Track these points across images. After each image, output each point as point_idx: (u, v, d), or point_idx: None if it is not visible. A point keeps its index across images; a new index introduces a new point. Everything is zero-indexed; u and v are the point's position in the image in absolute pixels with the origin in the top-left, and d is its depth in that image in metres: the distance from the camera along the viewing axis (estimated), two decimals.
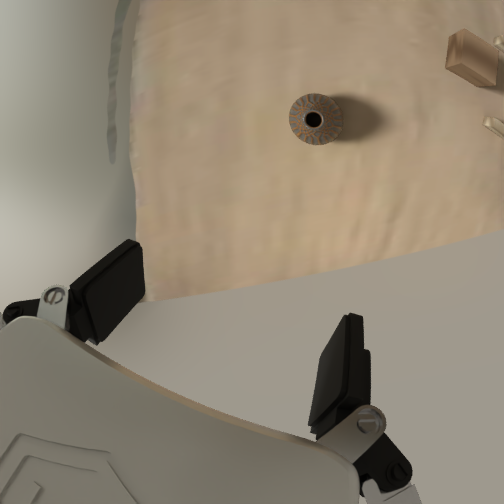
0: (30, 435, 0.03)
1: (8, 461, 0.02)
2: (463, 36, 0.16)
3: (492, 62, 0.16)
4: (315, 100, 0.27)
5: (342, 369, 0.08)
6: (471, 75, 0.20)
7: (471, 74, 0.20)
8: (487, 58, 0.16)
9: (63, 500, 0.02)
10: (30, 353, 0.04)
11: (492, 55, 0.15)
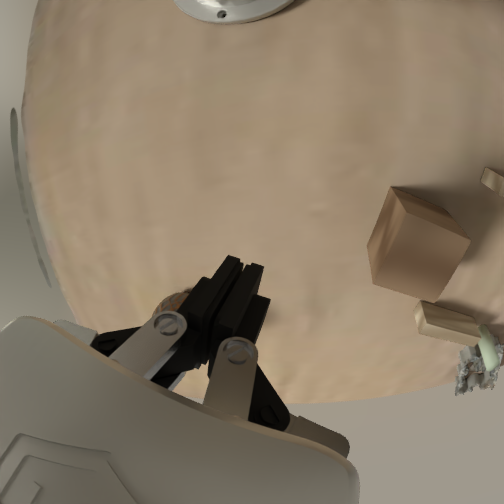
0: (30, 435, 0.03)
1: (8, 461, 0.02)
2: (398, 228, 0.16)
3: (445, 267, 0.16)
4: None
5: (224, 303, 0.09)
6: None
7: None
8: (437, 263, 0.16)
9: (63, 500, 0.02)
10: (30, 353, 0.04)
11: (452, 254, 0.15)
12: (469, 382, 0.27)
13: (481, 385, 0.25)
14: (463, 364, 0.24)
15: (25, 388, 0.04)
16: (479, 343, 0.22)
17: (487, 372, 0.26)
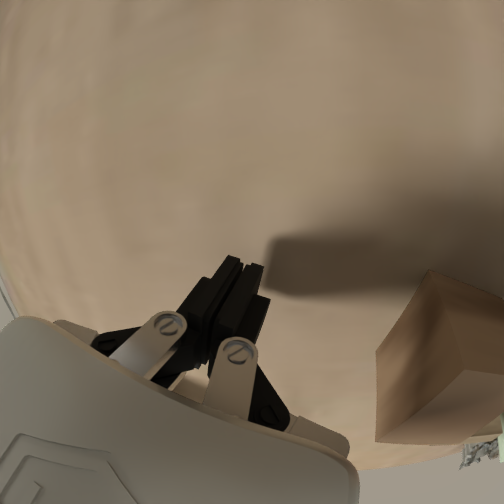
0: (30, 435, 0.03)
1: (8, 461, 0.02)
2: (439, 387, 0.07)
3: (491, 414, 0.06)
4: None
5: (224, 303, 0.09)
6: None
7: None
8: (481, 414, 0.07)
9: (63, 500, 0.02)
10: (30, 353, 0.04)
11: None
12: (477, 453, 0.17)
13: (490, 454, 0.15)
14: (471, 449, 0.15)
15: (25, 388, 0.04)
16: None
17: None
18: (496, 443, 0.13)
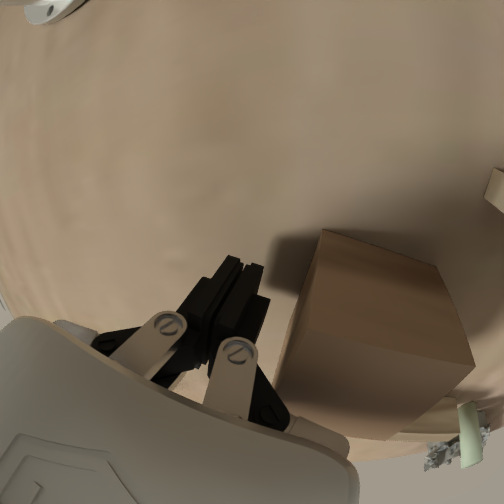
0: (30, 435, 0.03)
1: (8, 461, 0.02)
2: (294, 352, 0.07)
3: (410, 407, 0.07)
4: None
5: (224, 303, 0.09)
6: None
7: None
8: (390, 405, 0.07)
9: (63, 500, 0.02)
10: (30, 353, 0.04)
11: (427, 390, 0.07)
12: (447, 454, 0.18)
13: None
14: (429, 450, 0.16)
15: (25, 388, 0.04)
16: (460, 429, 0.13)
17: None
18: None
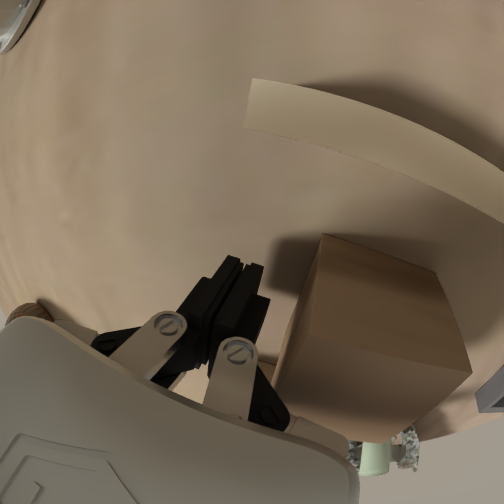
0: (30, 435, 0.03)
1: (8, 461, 0.02)
2: (293, 357, 0.07)
3: (407, 412, 0.07)
4: None
5: (224, 303, 0.09)
6: None
7: None
8: (387, 409, 0.07)
9: (63, 500, 0.02)
10: (30, 353, 0.04)
11: (423, 395, 0.07)
12: None
13: (400, 462, 0.18)
14: None
15: (25, 388, 0.04)
16: None
17: None
18: None
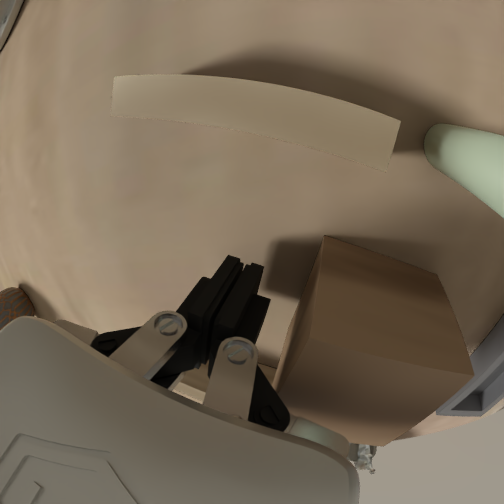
0: (30, 435, 0.03)
1: (8, 461, 0.02)
2: (295, 360, 0.07)
3: (408, 415, 0.07)
4: None
5: (224, 303, 0.09)
6: None
7: None
8: (389, 412, 0.07)
9: (63, 500, 0.02)
10: (30, 353, 0.04)
11: (425, 398, 0.07)
12: None
13: (358, 462, 0.19)
14: None
15: (25, 388, 0.04)
16: None
17: None
18: None
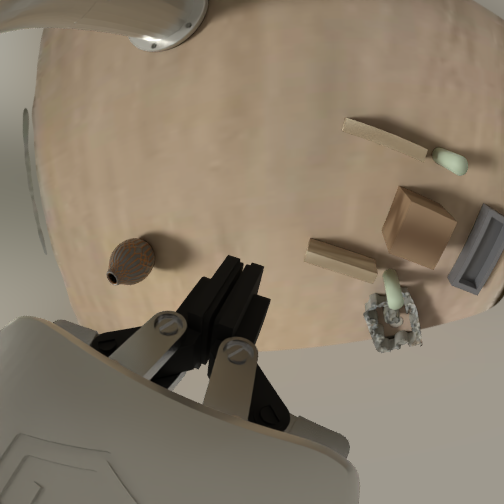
0: (30, 435, 0.03)
1: (8, 461, 0.02)
2: (405, 212, 0.23)
3: (440, 241, 0.23)
4: (117, 257, 0.37)
5: (224, 303, 0.09)
6: None
7: None
8: (433, 238, 0.23)
9: (63, 500, 0.02)
10: (30, 353, 0.04)
11: (443, 231, 0.22)
12: (395, 340, 0.36)
13: (410, 342, 0.34)
14: None
15: (25, 388, 0.04)
16: (384, 284, 0.31)
17: None
18: (394, 314, 0.33)
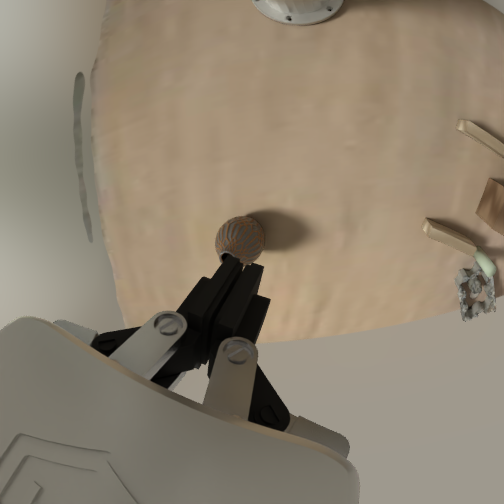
0: (30, 435, 0.03)
1: (8, 461, 0.02)
2: None
3: None
4: (232, 235, 0.36)
5: (224, 303, 0.09)
6: None
7: None
8: None
9: (63, 500, 0.02)
10: (30, 353, 0.04)
11: None
12: (473, 309, 0.35)
13: (485, 310, 0.33)
14: (459, 286, 0.33)
15: (25, 388, 0.04)
16: (477, 258, 0.30)
17: (487, 298, 0.34)
18: (478, 285, 0.32)
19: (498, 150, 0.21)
